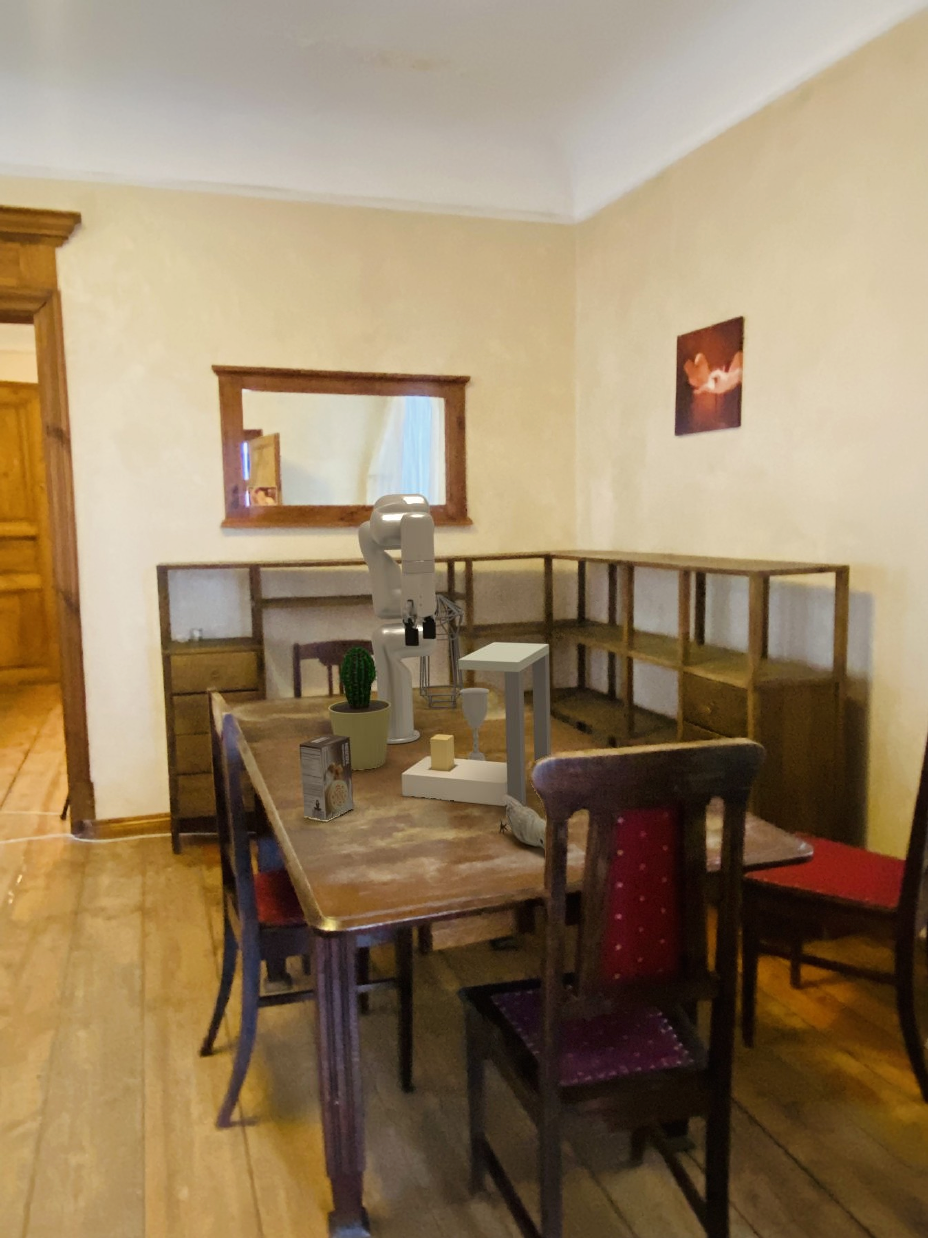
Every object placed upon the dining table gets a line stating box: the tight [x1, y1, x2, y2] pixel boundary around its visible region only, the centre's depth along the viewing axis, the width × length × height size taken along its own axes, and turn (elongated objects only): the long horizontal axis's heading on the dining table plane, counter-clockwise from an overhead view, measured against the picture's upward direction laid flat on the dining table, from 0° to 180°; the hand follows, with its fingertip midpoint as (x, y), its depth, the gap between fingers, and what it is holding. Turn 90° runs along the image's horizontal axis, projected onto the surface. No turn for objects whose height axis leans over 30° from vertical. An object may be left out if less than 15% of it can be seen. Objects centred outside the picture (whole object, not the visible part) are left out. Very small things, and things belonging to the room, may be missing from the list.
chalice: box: [459, 687, 490, 761], centre depth 225 cm, size 7×7×18 cm
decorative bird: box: [498, 795, 547, 851], centre depth 173 cm, size 5×16×7 cm, turn 29°
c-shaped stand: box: [458, 641, 552, 806], centre depth 199 cm, size 13×22×32 cm, turn 159°
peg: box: [429, 733, 455, 772], centre depth 206 cm, size 4×4×12 cm
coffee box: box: [299, 733, 355, 820], centre depth 191 cm, size 9×6×16 cm
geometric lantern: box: [419, 594, 464, 709], centre depth 285 cm, size 16×16×35 cm
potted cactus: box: [327, 646, 391, 770], centre depth 225 cm, size 15×15×30 cm
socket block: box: [401, 755, 508, 807], centre depth 204 cm, size 24×14×5 cm, turn 69°
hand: (421, 642), depth 210 cm, fingers open, 9 cm apart
